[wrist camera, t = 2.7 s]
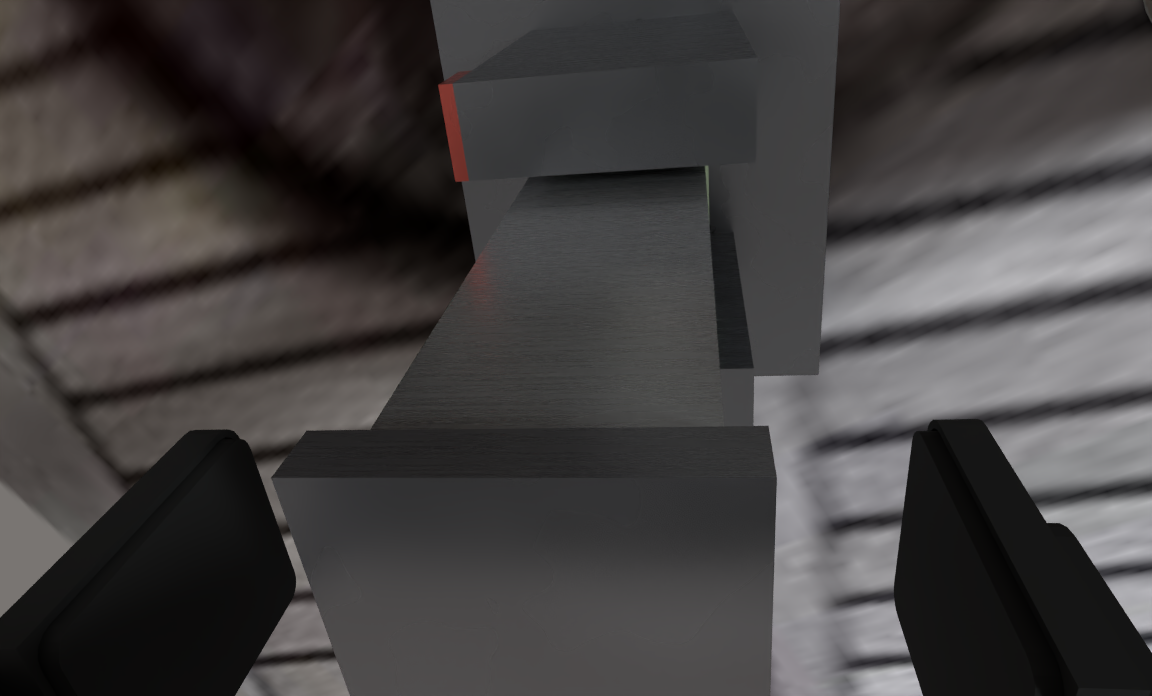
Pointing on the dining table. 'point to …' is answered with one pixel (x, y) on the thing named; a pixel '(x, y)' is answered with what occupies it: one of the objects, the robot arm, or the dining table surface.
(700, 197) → the column
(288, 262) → the dining table surface
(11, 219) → the dining table surface
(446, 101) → the base
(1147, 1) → the thermos bottle
